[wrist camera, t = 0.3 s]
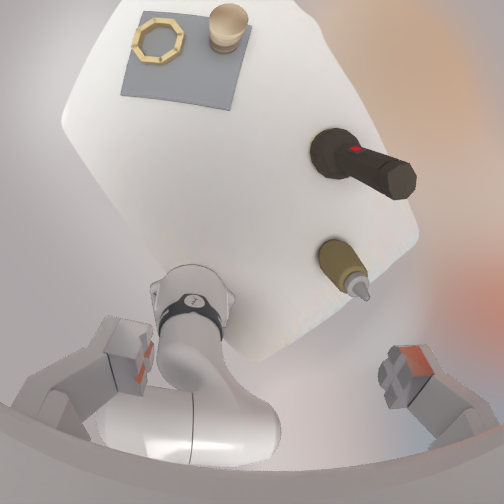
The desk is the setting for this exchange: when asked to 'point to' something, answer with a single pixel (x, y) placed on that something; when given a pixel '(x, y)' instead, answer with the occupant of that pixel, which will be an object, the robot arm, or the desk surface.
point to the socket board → (181, 61)
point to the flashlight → (361, 164)
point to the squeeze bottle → (344, 269)
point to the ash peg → (226, 27)
